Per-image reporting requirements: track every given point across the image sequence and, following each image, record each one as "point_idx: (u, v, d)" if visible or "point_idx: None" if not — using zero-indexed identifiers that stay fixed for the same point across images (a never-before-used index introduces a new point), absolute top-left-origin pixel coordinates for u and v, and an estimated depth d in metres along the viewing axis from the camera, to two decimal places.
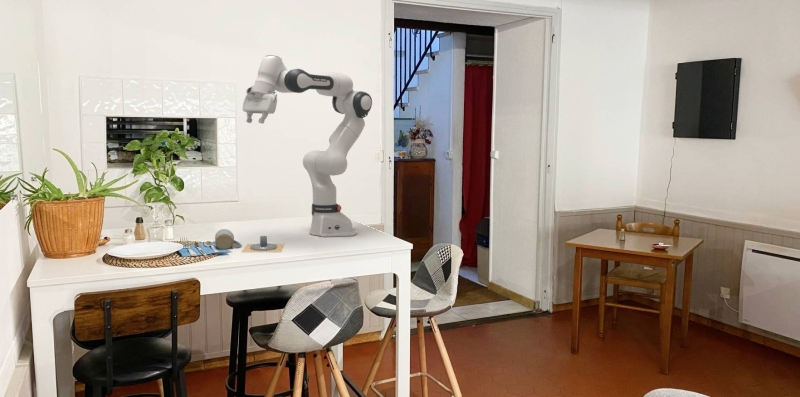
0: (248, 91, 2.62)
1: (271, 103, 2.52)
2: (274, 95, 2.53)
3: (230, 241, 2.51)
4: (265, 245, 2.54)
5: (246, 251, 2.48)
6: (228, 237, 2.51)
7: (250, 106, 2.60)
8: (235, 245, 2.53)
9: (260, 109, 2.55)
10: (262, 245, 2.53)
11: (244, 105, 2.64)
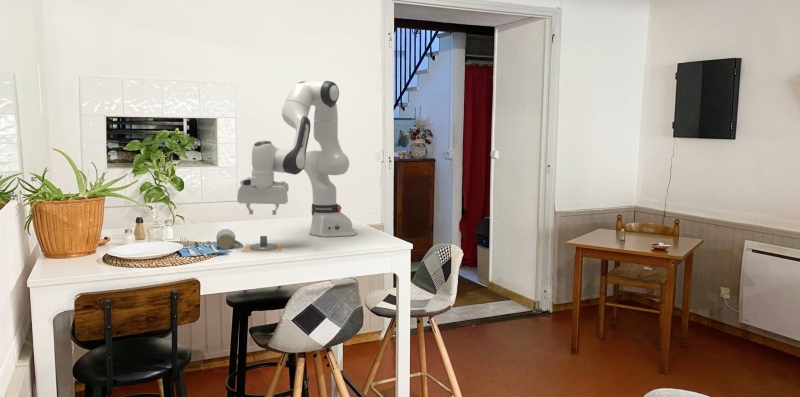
0: (245, 184, 2.48)
1: (286, 195, 2.52)
2: (286, 186, 2.52)
3: (231, 241, 2.51)
4: (265, 245, 2.54)
5: (246, 251, 2.48)
6: (229, 237, 2.51)
7: (253, 199, 2.50)
8: (236, 245, 2.53)
9: (273, 202, 2.51)
10: (262, 245, 2.53)
11: (240, 197, 2.49)
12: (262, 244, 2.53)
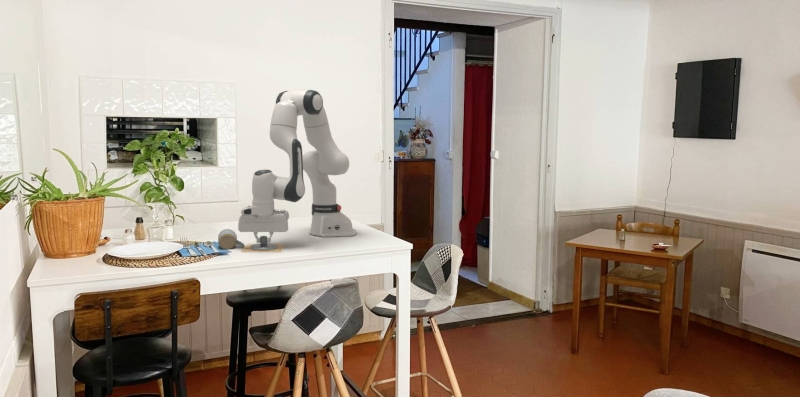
0: (246, 213, 2.49)
1: (287, 223, 2.54)
2: (286, 214, 2.54)
3: (233, 241, 2.52)
4: (265, 245, 2.54)
5: (246, 251, 2.48)
6: (231, 237, 2.51)
7: (254, 227, 2.52)
8: (238, 245, 2.54)
9: (273, 230, 2.53)
10: (262, 245, 2.53)
11: (241, 226, 2.51)
12: (262, 244, 2.53)
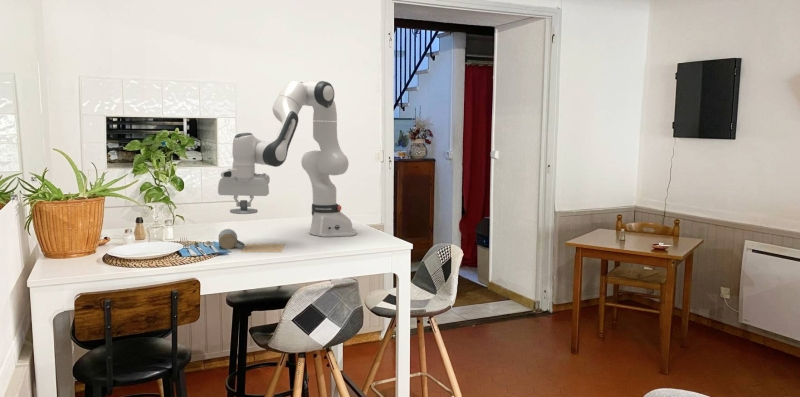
0: (226, 175, 2.47)
1: (267, 187, 2.52)
2: (267, 178, 2.52)
3: (234, 241, 2.52)
4: (245, 209, 2.51)
5: (246, 251, 2.48)
6: (232, 237, 2.51)
7: (234, 191, 2.49)
8: (238, 245, 2.54)
9: (254, 194, 2.50)
10: (242, 209, 2.51)
11: (221, 189, 2.49)
12: (242, 208, 2.51)
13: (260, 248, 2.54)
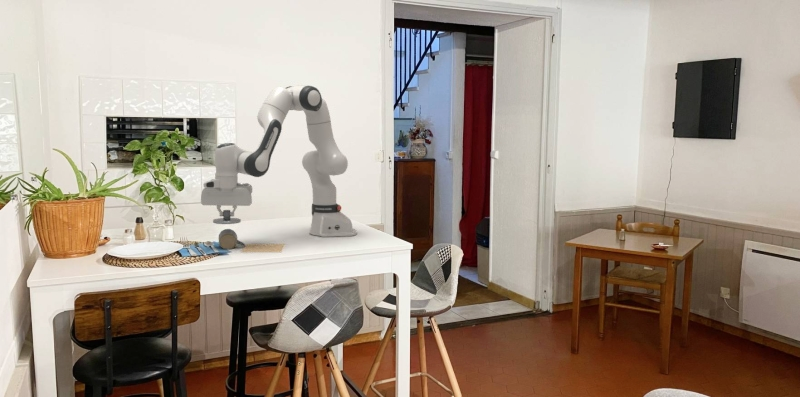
0: (209, 186, 2.48)
1: (250, 197, 2.53)
2: (250, 187, 2.53)
3: (234, 241, 2.52)
4: (228, 219, 2.53)
5: (246, 251, 2.48)
6: (232, 237, 2.51)
7: (217, 201, 2.51)
8: (239, 245, 2.54)
9: (236, 204, 2.52)
10: (225, 219, 2.52)
11: (204, 199, 2.50)
12: (225, 218, 2.52)
13: (260, 248, 2.54)
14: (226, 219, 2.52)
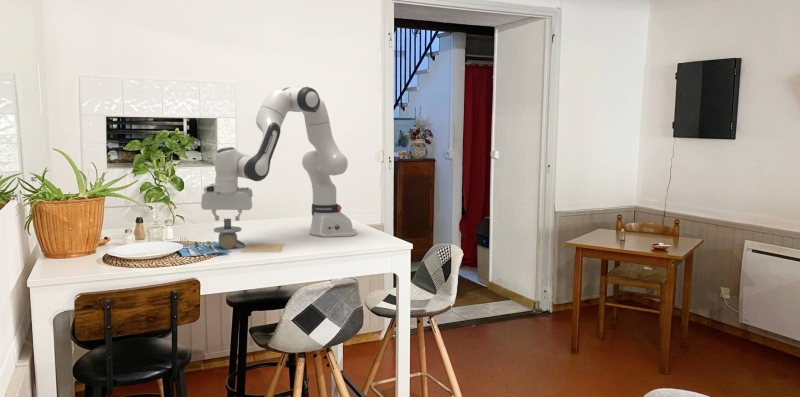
0: (209, 190, 2.49)
1: (250, 201, 2.53)
2: (250, 192, 2.53)
3: (234, 241, 2.52)
4: (229, 228, 2.53)
5: (246, 251, 2.48)
6: (232, 237, 2.51)
7: (217, 205, 2.51)
8: (239, 245, 2.54)
9: (237, 208, 2.52)
10: (226, 227, 2.53)
11: (204, 204, 2.50)
12: (226, 227, 2.53)
13: (260, 248, 2.54)
14: (227, 228, 2.53)
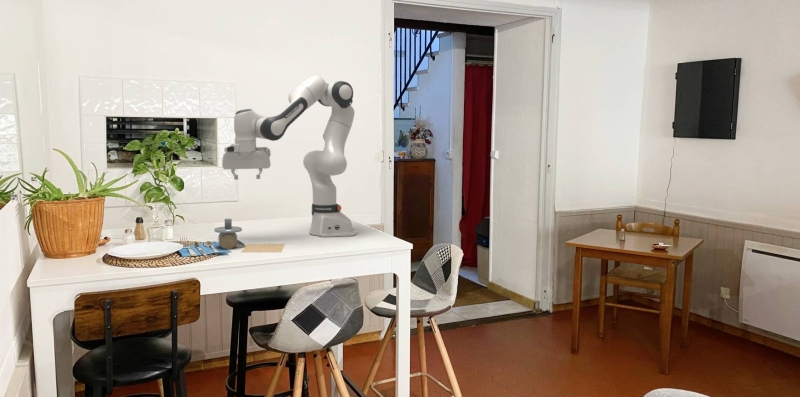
0: (229, 150, 2.61)
1: (269, 159, 2.66)
2: (268, 151, 2.66)
3: (234, 241, 2.52)
4: (229, 228, 2.54)
5: (246, 251, 2.48)
6: (232, 237, 2.51)
7: (237, 165, 2.64)
8: (239, 245, 2.54)
9: (256, 167, 2.65)
10: (226, 228, 2.53)
11: (225, 164, 2.63)
12: (226, 227, 2.53)
13: (260, 248, 2.54)
14: (227, 228, 2.53)
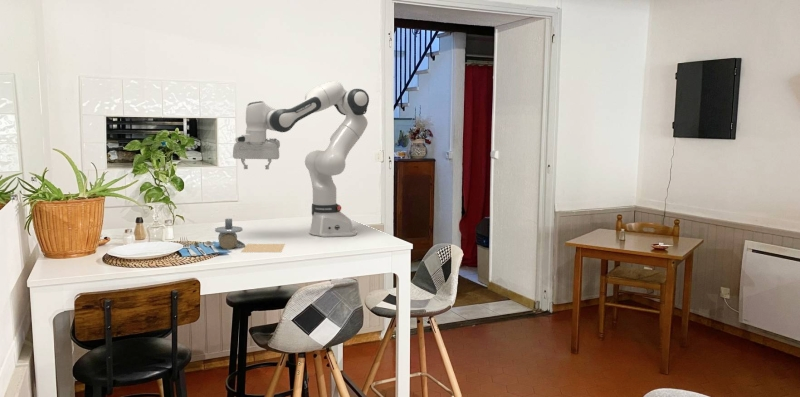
0: (240, 140, 2.70)
1: (278, 151, 2.74)
2: (277, 142, 2.74)
3: (234, 241, 2.52)
4: (230, 228, 2.54)
5: (246, 251, 2.48)
6: (232, 237, 2.51)
7: (247, 154, 2.72)
8: (239, 245, 2.54)
9: (265, 157, 2.73)
10: (227, 227, 2.53)
11: (235, 153, 2.71)
12: (227, 227, 2.53)
13: (260, 248, 2.54)
14: (228, 228, 2.53)
